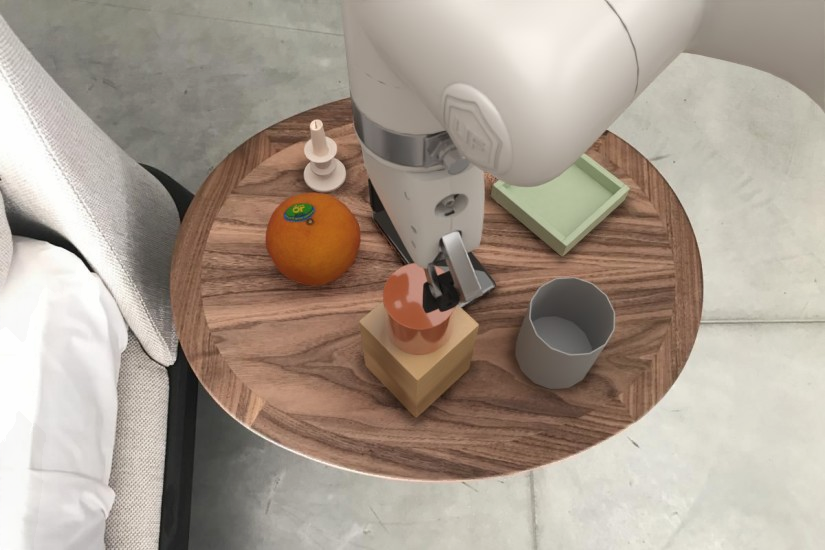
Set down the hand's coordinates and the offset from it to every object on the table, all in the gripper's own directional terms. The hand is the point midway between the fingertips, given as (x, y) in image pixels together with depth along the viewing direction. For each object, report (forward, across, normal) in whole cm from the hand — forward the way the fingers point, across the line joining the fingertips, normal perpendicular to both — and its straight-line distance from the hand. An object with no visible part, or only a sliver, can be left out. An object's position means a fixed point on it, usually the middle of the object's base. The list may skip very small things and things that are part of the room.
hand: (415, 251), depth 56 cm
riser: (+25, 0, 0) cm, 25 cm away
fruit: (+25, +17, +5) cm, 31 cm away
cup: (+25, -5, -14) cm, 29 cm away
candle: (+25, +27, 0) cm, 37 cm away
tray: (+25, +12, -25) cm, 37 cm away
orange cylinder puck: (+13, 0, 0) cm, 13 cm away
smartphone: (+25, +12, -8) cm, 29 cm away
